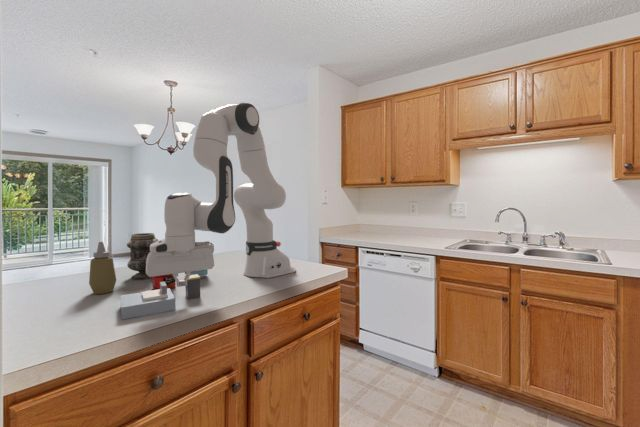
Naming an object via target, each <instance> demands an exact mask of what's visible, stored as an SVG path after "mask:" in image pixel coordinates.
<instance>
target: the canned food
mask: <svg viewBox="0 0 640 427" xmlns="http://www.w3.org/2000/svg"><path fill="white" fill-rule="evenodd" d="M151 281H152V289H153V290H158V289H160V282H164V281H165V283H166V285H167V288H170V290H172V289H174V288H175V287H176V286H177V281H176V280H175V278H174V277H173V274H168V275H161V276H153V277H152V278H151Z"/></svg>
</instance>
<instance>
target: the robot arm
mask: <svg viewBox="0 0 640 427" xmlns="http://www.w3.org/2000/svg"><path fill="white" fill-rule="evenodd" d="M259 126H260V114H259V112H258V110H257V108H256V107H255V106H254V105H253V104H251V103H250V102H249V103H248V102H240V103H233V104H227V105H225V106H221V107H217V108H214V109H211V110H210V111H209V112H206V113H204V114H202V116H201V117H200V119H199V122H198V125H197V127H196V128H197V129H196V132H195V137H194V142H193V149H192V151H193V153H192V154H193V158H194V159H195V161H196V162H197V164H199V165H200V166H201V167H203V168H205V170H206V169H207V170H208V171H211V172H212V173H213V174H214V177H215V200H214V202H205V201H204V202H203V201H200V200H198V199H196V198H195V197H194V196H193V195H192V193H189V192H175V193H172V194H169V195H168V196H167V197H166V199H165V203H164V209H163V210H164V224H165V227H166V228H165V234H164V238H163V239H161V240H159V241H157V242H154V243H152V244H150V251H151V252H150V253H149V254H148V256H147V260H146V274H147V275H148V276H149V277H153V276H161V275H168V274H173V277H174V278H175V280H176V287H177V288H180V287H185V286H187V280H188V279H189V277H190V275H191V274H190V272H192V271H200V270H207V271H208V270H212V269H213V268H214V266H215V260H214V252H215V246H214V244H213V243H212V242H210V241H196V231H202V232H212V233H215V234H216V233H217V234H225V233H228V232H229V231H230V230H231V229H232V227H234V224H235V222H236V212H235V211H236V210H235V205H234V201H235V204H236V205H238V207H239V208H240V210H241V211H242V213H243V214H242V215H243V216H244V220H245V224H246V241H245V254H246V260H245V266H244V267H245V268H244V270H243V275H245V277H249V278H250V277H251V278H264V279H271V278H274V277H279V276H283V275H288V274H293V273H295V272H297V271H296V268H295V267H294V266H292V265H291V261H290V258H289V256H288V255H287V254H285V253H284V252H282V251H281V250H280V249H278V247H281V242H280V241H276V240H274V231H273V230H274V228H273V226H274V225H273V222H272V220H271V219H269V217H268V216H267V214H266V212H265V210H275V209H279V208H281V207H282V206H284V204H285V202H286V197H287V194H286V191H285V188H284V187H283V186H282V185H280V184H279V183H278V182H277V181H276V179H275V178H274V176H273V174H272V172H271V170H270V167H269V163H268V157H267V152H266V146H265V142H264V138H263V135H262V131H261V128H260V127H259ZM229 136H230V137H231V136H234V137H235V138H236V147H237V148H236V149H237V152H238V160H239V164H240V169H241V171H242V173H243V175H246V176H247V178H249V180H250V182H249V183H243V184H241V185H239V186H237V187H236V188H235V190H234V169H233V163H232V161H231V159H230V158H228V152H227V150H228V143H229V142H228V141H229ZM182 273H183V274H184V278H183V279H178V277H179V274H182Z"/></svg>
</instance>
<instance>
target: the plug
mask: <svg viewBox="0 0 640 427" xmlns="http://www.w3.org/2000/svg"><path fill="white" fill-rule="evenodd" d="M184 287H185V297H186V299H187V300H191V299H197V298H201V278H200V276H199V275H198V274H195V275H190V277H189V279H188V280H187V286H184Z"/></svg>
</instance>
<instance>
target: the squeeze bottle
mask: <svg viewBox="0 0 640 427" xmlns="http://www.w3.org/2000/svg"><path fill="white" fill-rule="evenodd" d="M96 250H97V251H95V252H93V258H92V259H91V260H90V261H89V262H90V265H89V278H88V279H89V282H88V284H89V286H90V290H92V293H93V294H94V295H103V294H107V293H111V292H113V291H114V290H115V286H116V283H117V276H116V270H115V264H114V258H112V257H111V256H110V251H109V250H106V247H105V244H104V242H103V241H99V242H98V245H97V249H96Z"/></svg>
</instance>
